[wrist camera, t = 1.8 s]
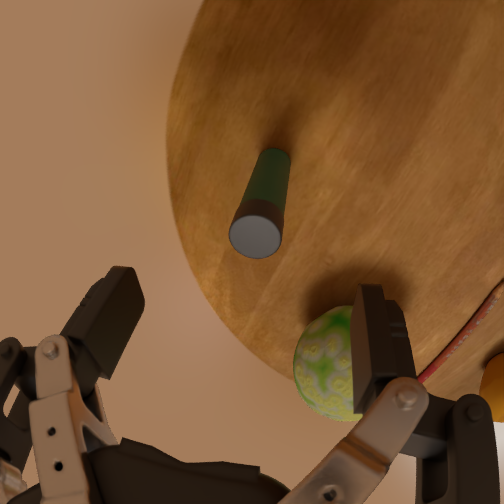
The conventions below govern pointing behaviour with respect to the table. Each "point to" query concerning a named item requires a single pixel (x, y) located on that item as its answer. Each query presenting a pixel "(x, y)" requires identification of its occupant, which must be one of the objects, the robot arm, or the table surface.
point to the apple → (494, 387)
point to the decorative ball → (327, 365)
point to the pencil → (464, 332)
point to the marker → (262, 207)
